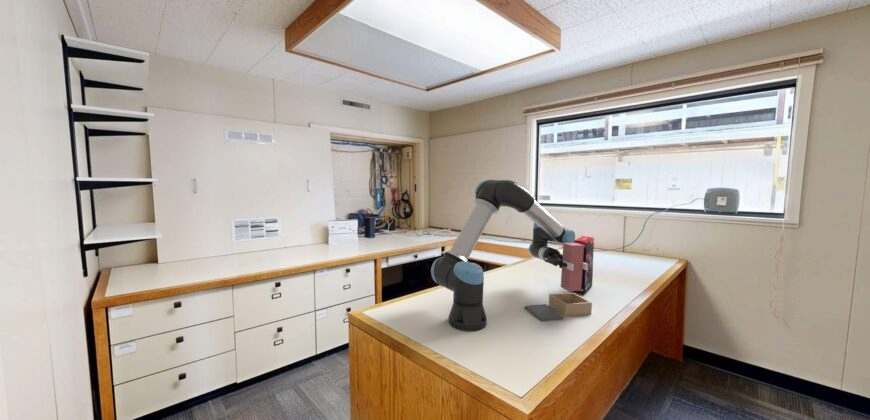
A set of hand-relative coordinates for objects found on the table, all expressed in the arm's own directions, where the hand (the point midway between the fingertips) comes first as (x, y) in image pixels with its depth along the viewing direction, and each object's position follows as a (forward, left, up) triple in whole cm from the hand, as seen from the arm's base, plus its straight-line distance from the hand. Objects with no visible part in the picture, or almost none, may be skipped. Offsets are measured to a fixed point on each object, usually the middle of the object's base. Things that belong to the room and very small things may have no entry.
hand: (579, 267), depth 139 cm
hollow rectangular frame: (0, +5, -20) cm, 21 cm away
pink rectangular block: (0, +5, -11) cm, 12 cm away
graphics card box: (+23, +28, -21) cm, 42 cm away
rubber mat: (-14, +3, -20) cm, 25 cm away
